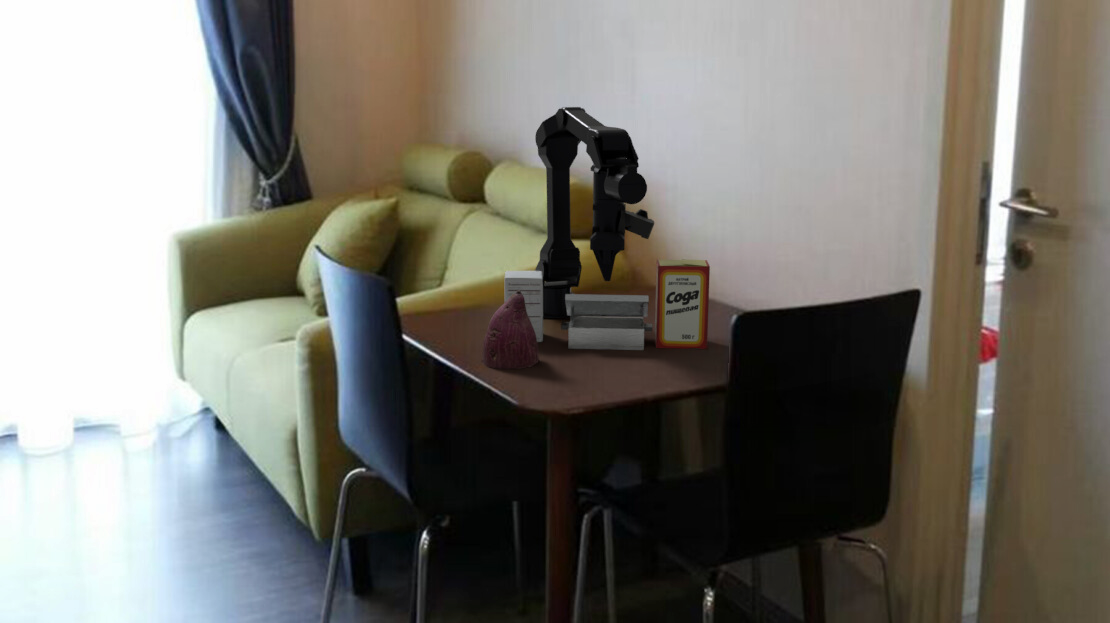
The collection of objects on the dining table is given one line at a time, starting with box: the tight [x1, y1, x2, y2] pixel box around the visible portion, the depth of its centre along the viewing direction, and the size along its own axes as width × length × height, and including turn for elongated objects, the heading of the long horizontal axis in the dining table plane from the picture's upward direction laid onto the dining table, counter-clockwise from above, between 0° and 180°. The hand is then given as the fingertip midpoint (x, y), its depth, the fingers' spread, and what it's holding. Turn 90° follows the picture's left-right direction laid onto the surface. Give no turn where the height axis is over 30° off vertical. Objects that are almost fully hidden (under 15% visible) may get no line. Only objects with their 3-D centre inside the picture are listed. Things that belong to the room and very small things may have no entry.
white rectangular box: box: [560, 316, 653, 351], centre depth 228 cm, size 17×10×4 cm, turn 87°
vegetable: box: [481, 290, 539, 370], centre depth 213 cm, size 10×10×15 cm
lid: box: [565, 293, 650, 318], centre depth 228 cm, size 15×10×2 cm
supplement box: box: [503, 270, 544, 343], centre depth 231 cm, size 7×7×13 cm
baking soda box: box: [654, 259, 711, 350], centre depth 226 cm, size 10×6×16 cm
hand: (607, 280), depth 226 cm, fingers closed
